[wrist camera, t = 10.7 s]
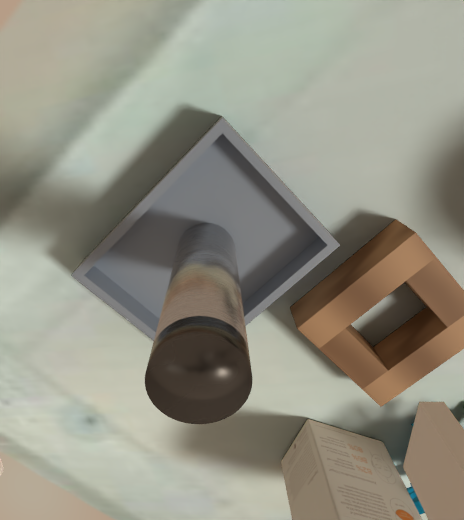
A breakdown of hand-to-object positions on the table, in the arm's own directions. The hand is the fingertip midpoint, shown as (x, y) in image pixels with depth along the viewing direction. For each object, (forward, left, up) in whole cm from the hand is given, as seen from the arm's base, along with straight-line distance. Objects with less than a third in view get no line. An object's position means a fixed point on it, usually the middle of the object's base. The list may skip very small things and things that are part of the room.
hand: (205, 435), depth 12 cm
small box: (+6, +22, -18) cm, 29 cm away
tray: (0, 0, -17) cm, 17 cm away
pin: (0, 0, -17) cm, 17 cm away
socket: (-6, +13, -17) cm, 22 cm away
